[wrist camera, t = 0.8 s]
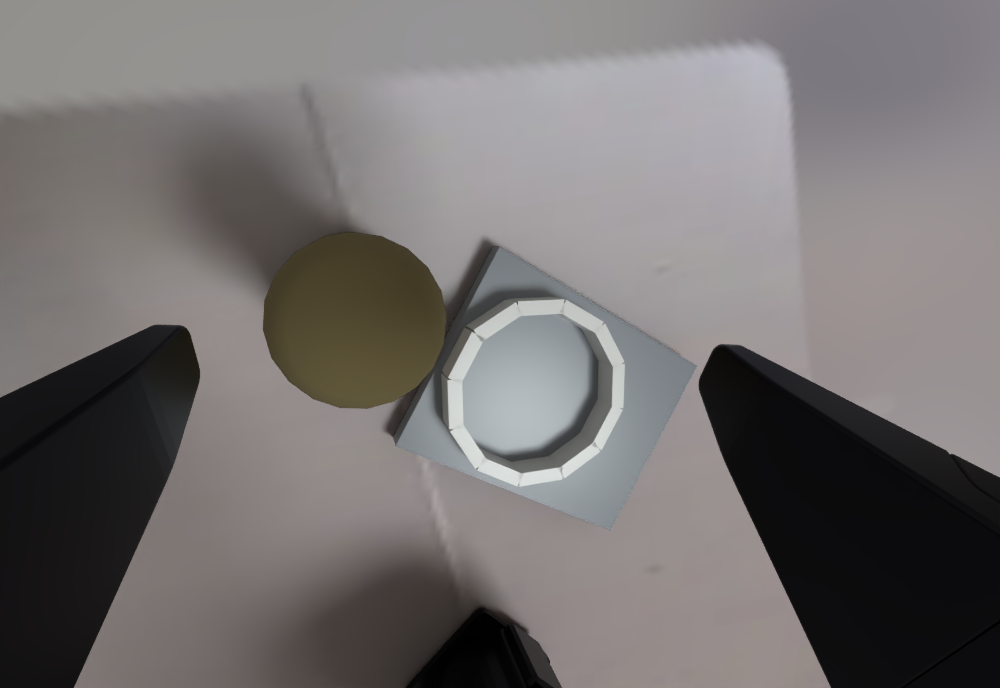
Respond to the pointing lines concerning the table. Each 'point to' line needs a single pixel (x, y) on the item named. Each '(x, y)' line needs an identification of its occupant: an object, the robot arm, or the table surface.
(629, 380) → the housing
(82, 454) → the robot arm
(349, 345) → the olive pawn
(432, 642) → the table surface
